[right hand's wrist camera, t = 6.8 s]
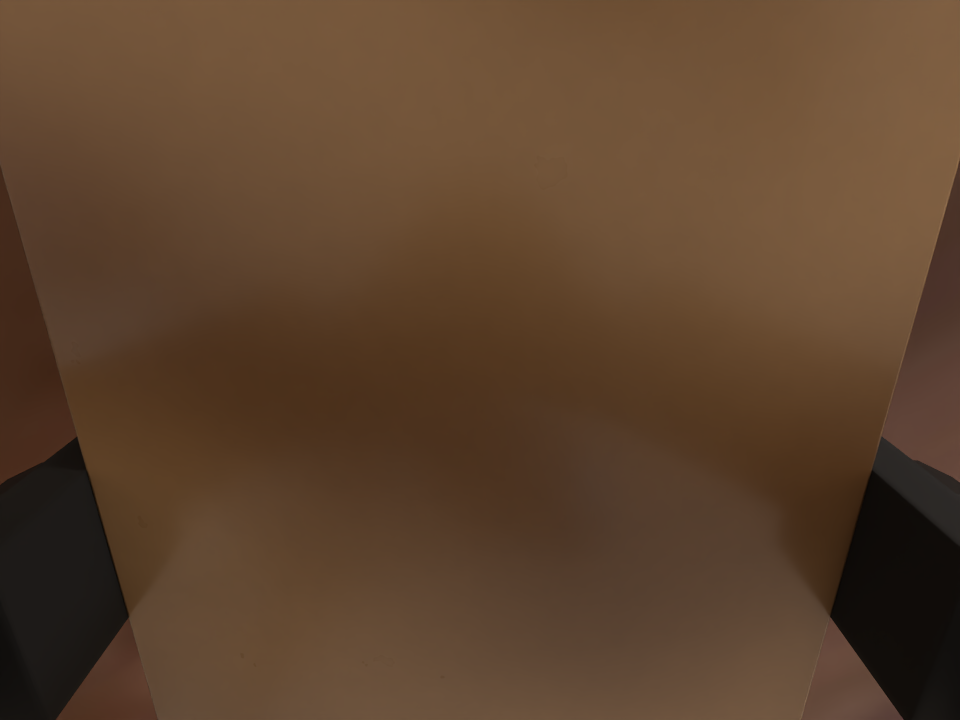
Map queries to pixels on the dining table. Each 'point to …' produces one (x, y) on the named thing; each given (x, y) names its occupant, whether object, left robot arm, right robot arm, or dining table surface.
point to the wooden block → (479, 334)
